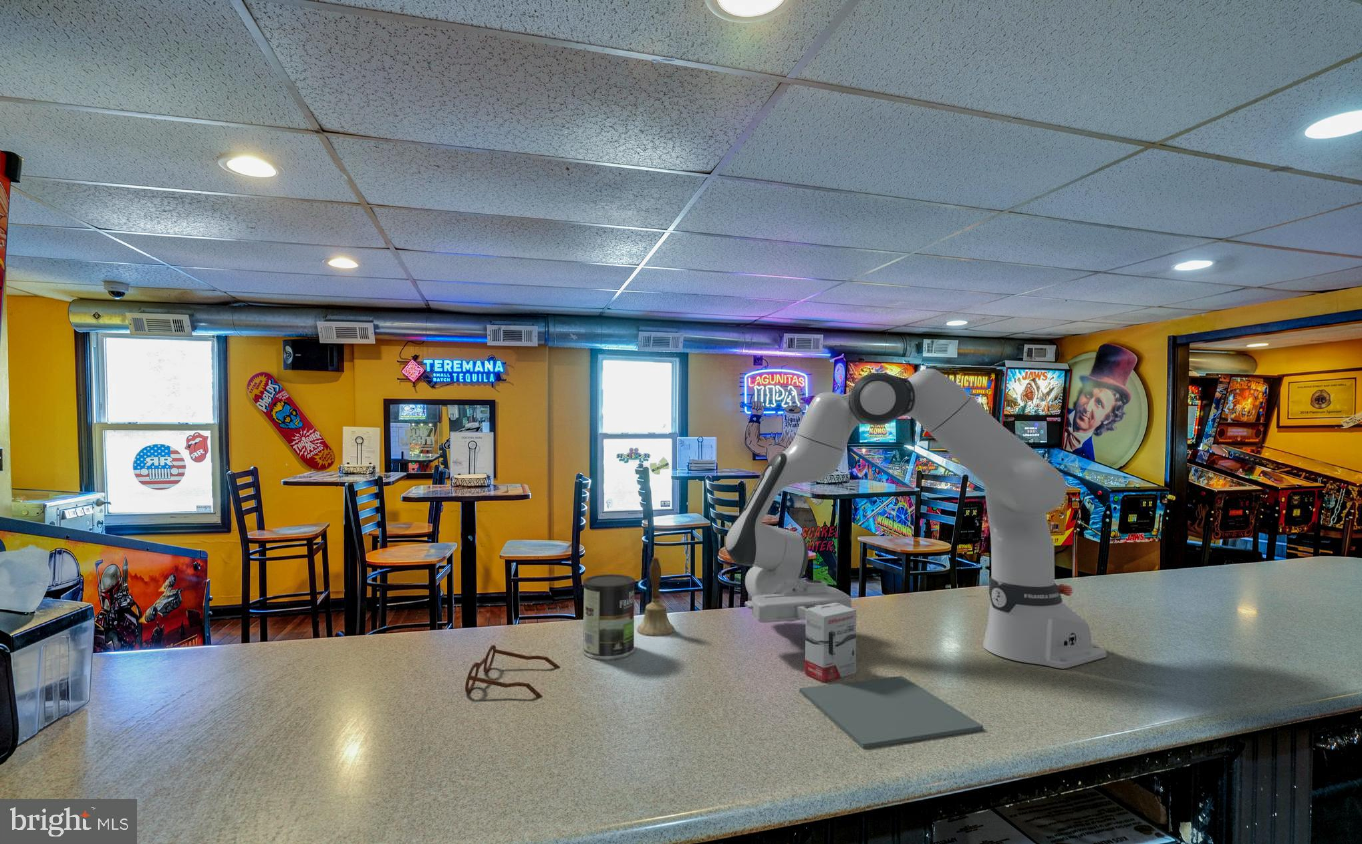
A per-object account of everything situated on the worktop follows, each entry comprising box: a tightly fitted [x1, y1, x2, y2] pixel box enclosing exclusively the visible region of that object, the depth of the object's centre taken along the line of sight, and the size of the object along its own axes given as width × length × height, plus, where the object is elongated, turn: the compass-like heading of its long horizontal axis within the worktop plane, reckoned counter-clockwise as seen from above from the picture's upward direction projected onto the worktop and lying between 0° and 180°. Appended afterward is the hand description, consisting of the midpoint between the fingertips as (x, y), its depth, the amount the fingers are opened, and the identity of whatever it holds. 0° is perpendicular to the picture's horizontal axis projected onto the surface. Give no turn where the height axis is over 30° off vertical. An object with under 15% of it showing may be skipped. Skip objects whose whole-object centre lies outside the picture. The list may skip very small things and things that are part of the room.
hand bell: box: [636, 557, 675, 637], centre depth 133 cm, size 8×8×16 cm
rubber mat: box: [799, 675, 984, 749], centre depth 94 cm, size 20×19×1 cm
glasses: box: [464, 644, 561, 698], centre depth 105 cm, size 13×13×5 cm
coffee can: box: [582, 573, 636, 661], centre depth 120 cm, size 10×10×14 cm
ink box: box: [804, 603, 857, 684], centre depth 109 cm, size 8×5×12 cm, turn 123°
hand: (819, 617), depth 113 cm, fingers closed
